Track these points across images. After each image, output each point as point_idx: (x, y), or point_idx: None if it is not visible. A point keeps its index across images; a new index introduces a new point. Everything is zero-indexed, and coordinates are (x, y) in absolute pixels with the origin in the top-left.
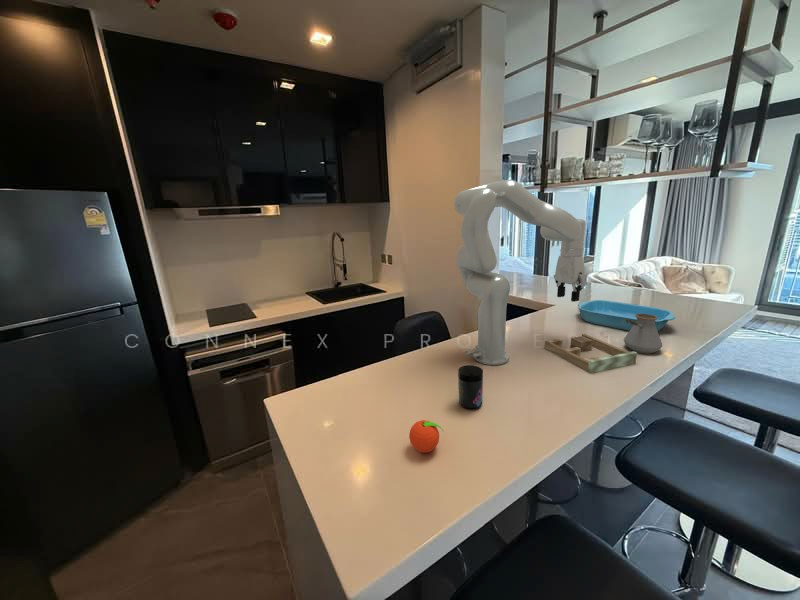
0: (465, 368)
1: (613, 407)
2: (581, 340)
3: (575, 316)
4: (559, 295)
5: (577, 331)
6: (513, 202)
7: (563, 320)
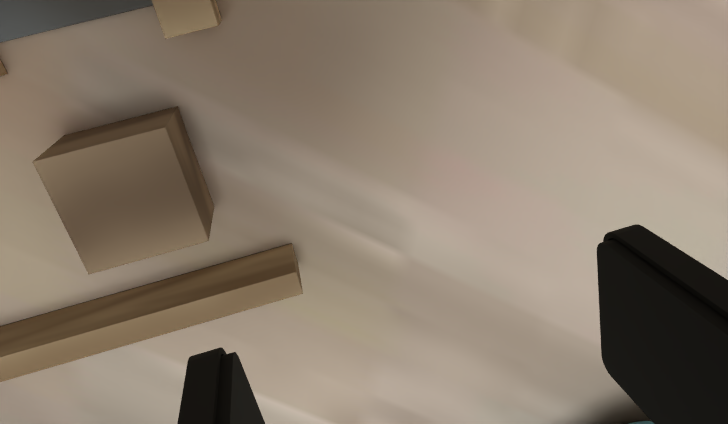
0: None
1: None
2: (92, 186)
3: None
4: (618, 272)
5: (480, 302)
6: None
7: None
